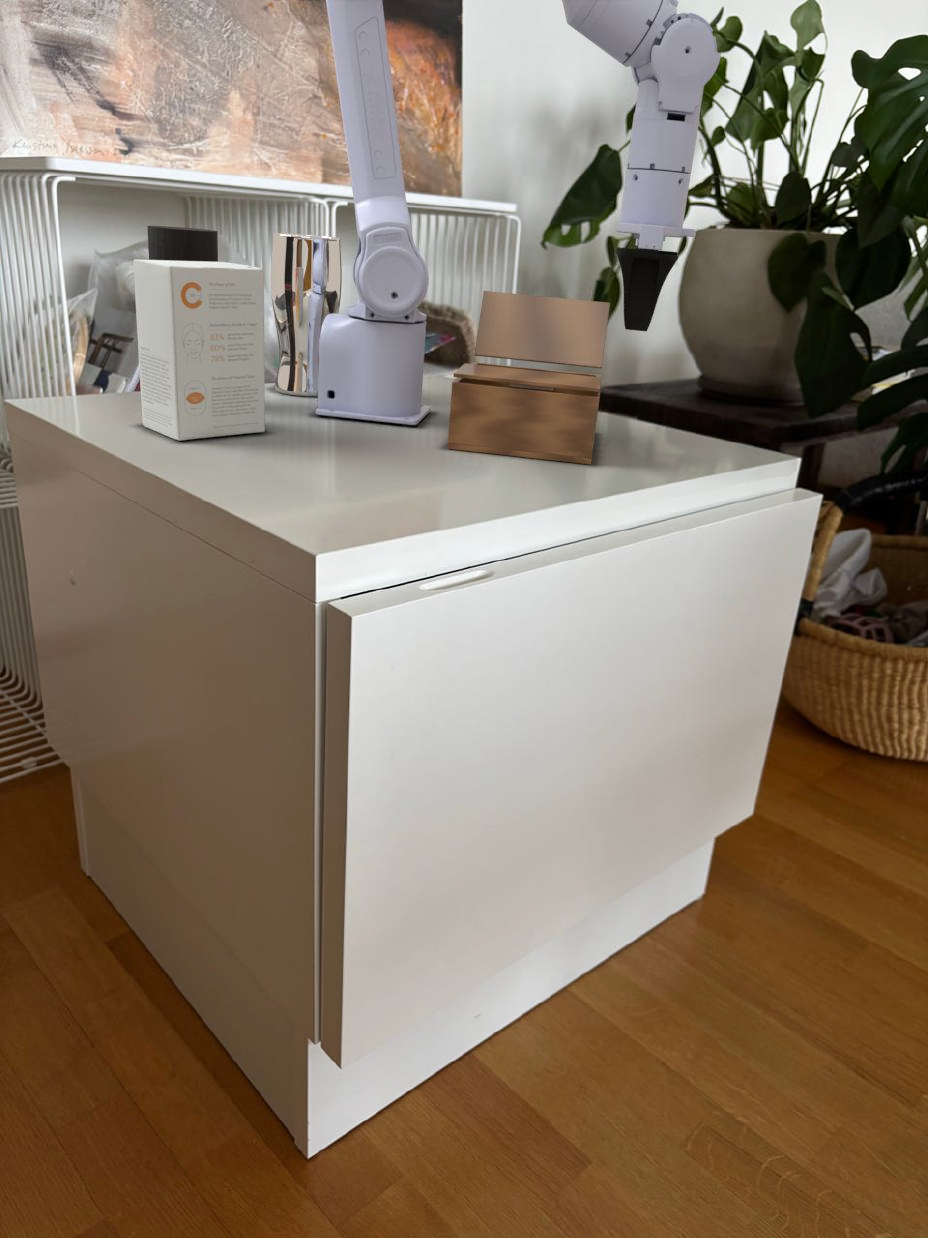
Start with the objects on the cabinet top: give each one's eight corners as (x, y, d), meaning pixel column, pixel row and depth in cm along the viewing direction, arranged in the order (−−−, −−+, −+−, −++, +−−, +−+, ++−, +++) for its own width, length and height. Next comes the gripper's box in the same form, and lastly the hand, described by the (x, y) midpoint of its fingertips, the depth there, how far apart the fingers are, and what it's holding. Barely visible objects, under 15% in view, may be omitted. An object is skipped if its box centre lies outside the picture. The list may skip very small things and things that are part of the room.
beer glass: (325, 400, 96) (329, 238, 90) (259, 392, 97) (259, 232, 92) (347, 389, 103) (352, 238, 97) (285, 382, 104) (286, 232, 98)
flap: (483, 290, 91) (483, 291, 91) (474, 354, 90) (474, 355, 90) (610, 302, 90) (610, 303, 90) (601, 367, 89) (601, 368, 89)
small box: (226, 418, 85) (224, 260, 80) (266, 433, 81) (266, 267, 76) (139, 425, 79) (131, 257, 74) (177, 442, 75) (171, 264, 70)
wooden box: (447, 448, 81) (452, 373, 78) (468, 420, 93) (473, 354, 90) (590, 464, 80) (600, 388, 77) (593, 433, 91) (602, 367, 89)
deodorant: (200, 392, 95) (196, 227, 89) (232, 404, 91) (230, 232, 85) (143, 396, 91) (135, 224, 85) (173, 408, 87) (167, 228, 81)
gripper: (710, 171, 79) (683, 342, 85) (697, 179, 93) (674, 326, 98) (624, 164, 80) (602, 334, 85) (623, 173, 93) (604, 319, 99)
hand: (635, 329), depth 92 cm, fingers closed
